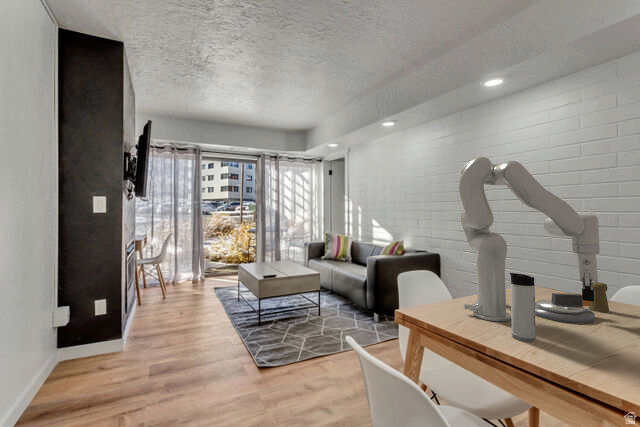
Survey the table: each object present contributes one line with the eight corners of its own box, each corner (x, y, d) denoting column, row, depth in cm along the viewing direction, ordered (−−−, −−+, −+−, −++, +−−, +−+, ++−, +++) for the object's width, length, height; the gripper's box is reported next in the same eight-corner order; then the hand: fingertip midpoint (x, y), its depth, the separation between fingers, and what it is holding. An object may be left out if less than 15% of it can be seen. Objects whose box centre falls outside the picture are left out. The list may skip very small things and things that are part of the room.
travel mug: (506, 334, 100) (505, 271, 100) (527, 334, 100) (526, 271, 100) (518, 342, 94) (516, 275, 94) (540, 342, 93) (539, 275, 94)
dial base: (544, 321, 111) (544, 314, 111) (519, 306, 131) (519, 299, 131) (609, 324, 107) (609, 317, 107) (573, 308, 127) (573, 301, 127)
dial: (549, 313, 113) (548, 298, 113) (530, 302, 127) (530, 289, 127) (602, 315, 110) (602, 299, 110) (577, 304, 124) (577, 290, 124)
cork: (613, 313, 120) (613, 284, 120) (595, 312, 121) (594, 283, 121) (602, 308, 126) (602, 281, 126) (585, 307, 127) (585, 280, 127)
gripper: (600, 251, 104) (603, 307, 104) (599, 247, 116) (601, 297, 115) (571, 251, 109) (574, 303, 109) (572, 247, 121) (575, 294, 120)
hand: (588, 300), depth 112 cm, fingers closed
